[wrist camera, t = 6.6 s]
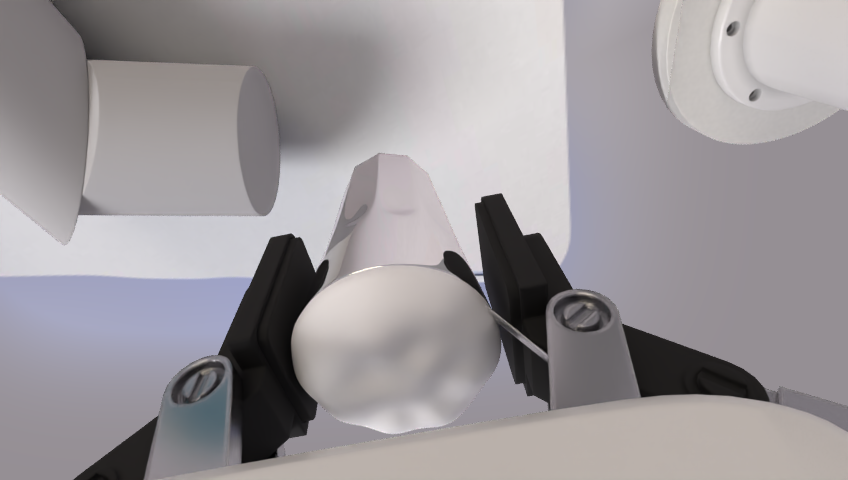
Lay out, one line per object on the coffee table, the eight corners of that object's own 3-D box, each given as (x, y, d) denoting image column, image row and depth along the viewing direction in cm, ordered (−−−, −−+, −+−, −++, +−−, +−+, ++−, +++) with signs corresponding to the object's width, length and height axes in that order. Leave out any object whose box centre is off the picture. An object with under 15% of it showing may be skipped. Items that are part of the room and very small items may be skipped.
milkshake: (486, 200, 17) (598, 435, 8) (371, 259, 18) (364, 523, 9) (432, 97, 14) (512, 278, 6) (303, 173, 15) (211, 420, 7)
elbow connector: (-18, 213, 28) (285, 215, 30) (-233, 280, 18) (238, 276, 20) (-125, -107, 22) (262, -79, 24) (-527, -261, 12) (178, -194, 14)
